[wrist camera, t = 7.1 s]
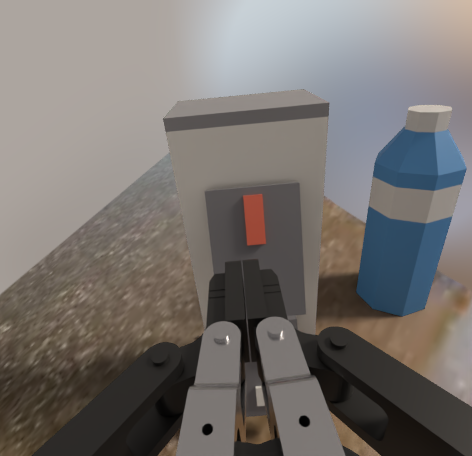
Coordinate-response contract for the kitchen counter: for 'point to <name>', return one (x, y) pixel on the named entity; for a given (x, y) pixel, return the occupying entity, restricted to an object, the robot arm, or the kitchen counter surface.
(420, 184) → the water bottle
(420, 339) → the kitchen counter surface
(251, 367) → the lower rocker
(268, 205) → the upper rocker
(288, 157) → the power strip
